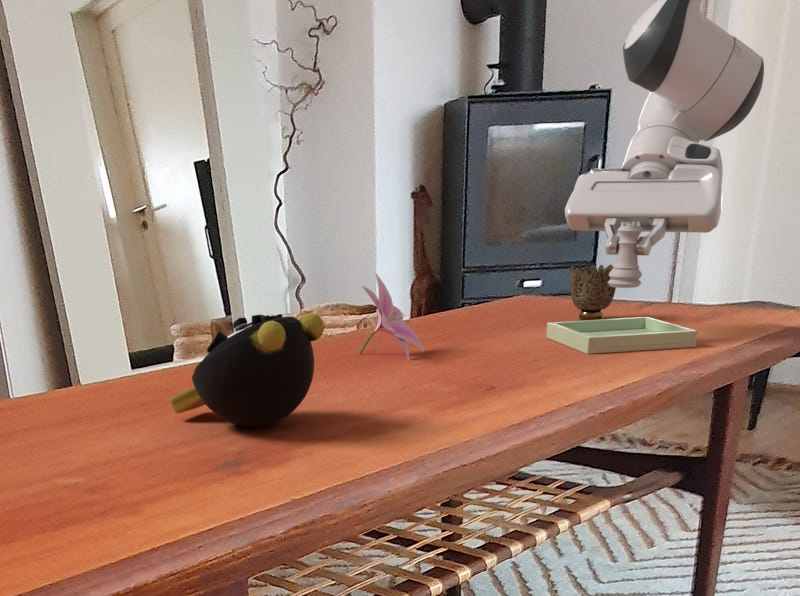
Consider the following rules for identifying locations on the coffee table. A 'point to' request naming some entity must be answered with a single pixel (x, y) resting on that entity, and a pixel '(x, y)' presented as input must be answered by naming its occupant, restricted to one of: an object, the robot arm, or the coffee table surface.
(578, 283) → the cup
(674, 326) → the game tray
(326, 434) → the coffee table surface
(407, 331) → the lily
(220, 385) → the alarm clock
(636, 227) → the rook chess piece
